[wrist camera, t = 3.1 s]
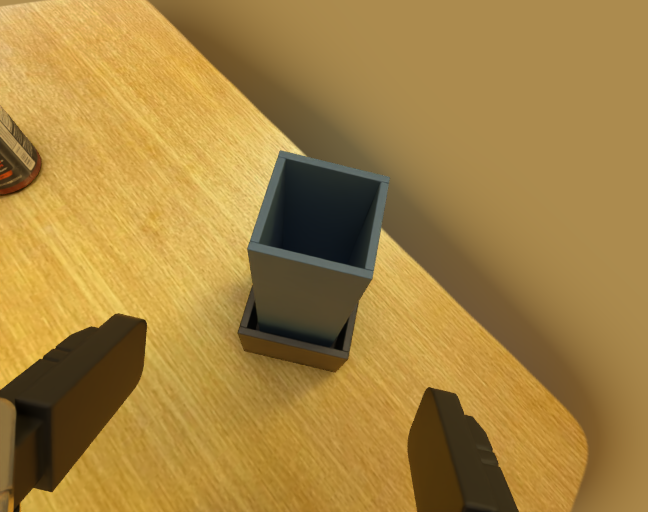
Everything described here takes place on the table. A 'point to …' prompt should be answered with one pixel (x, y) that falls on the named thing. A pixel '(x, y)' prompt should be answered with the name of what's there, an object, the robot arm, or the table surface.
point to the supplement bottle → (16, 156)
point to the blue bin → (314, 246)
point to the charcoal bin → (294, 342)
